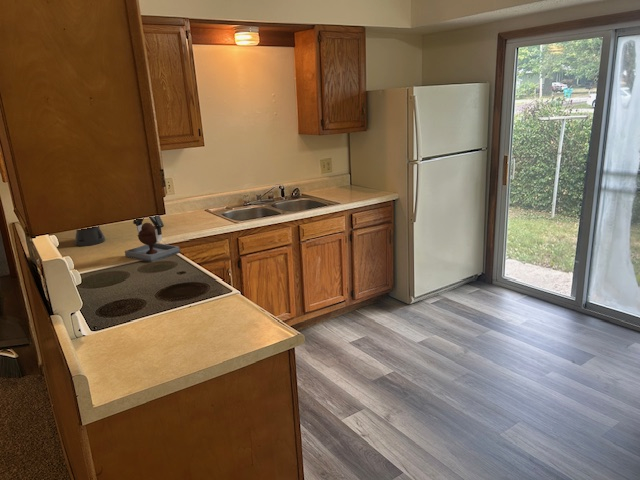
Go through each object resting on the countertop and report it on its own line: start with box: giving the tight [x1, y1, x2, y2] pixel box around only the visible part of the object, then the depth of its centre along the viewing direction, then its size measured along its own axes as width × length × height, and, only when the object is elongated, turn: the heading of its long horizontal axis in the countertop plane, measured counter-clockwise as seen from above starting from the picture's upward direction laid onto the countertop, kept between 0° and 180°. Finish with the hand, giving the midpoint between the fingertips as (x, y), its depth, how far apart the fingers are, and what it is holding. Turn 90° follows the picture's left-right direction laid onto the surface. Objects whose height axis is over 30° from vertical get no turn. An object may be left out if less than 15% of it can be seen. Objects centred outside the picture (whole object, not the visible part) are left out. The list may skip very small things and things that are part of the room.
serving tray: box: [124, 242, 181, 263], centre depth 236 cm, size 20×17×3 cm
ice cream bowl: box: [137, 222, 158, 254], centre depth 235 cm, size 11×11×15 cm
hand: (150, 239), depth 235 cm, fingers open, 13 cm apart
